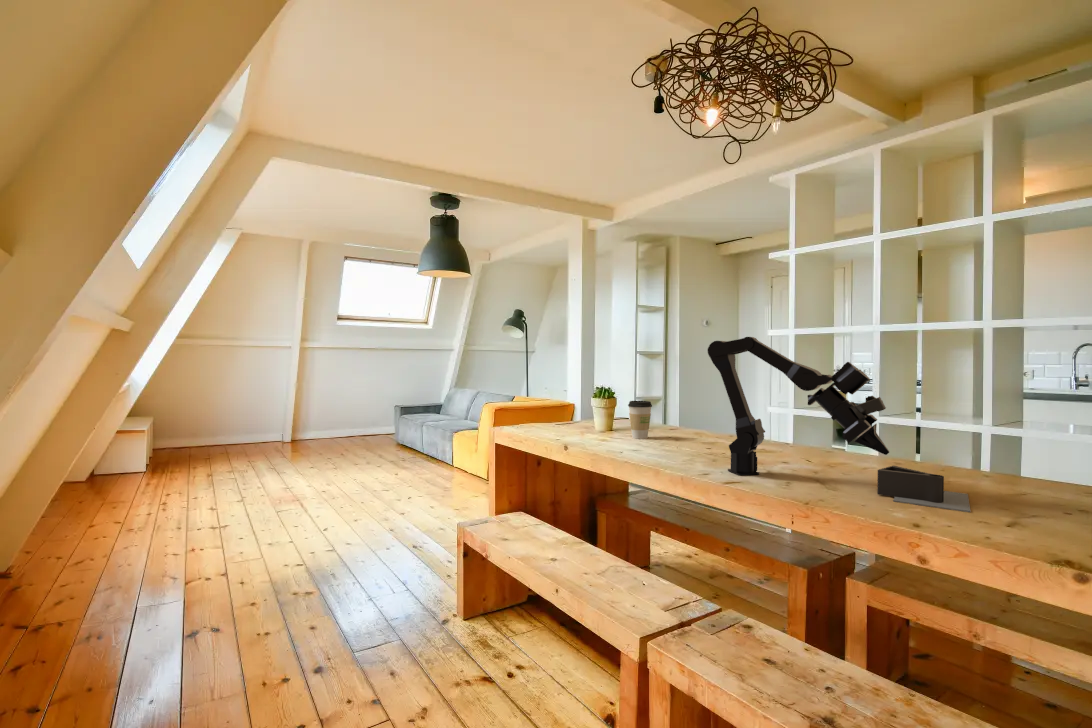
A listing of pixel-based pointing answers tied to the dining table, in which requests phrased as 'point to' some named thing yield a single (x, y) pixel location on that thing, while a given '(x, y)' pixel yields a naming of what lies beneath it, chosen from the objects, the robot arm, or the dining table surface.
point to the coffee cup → (640, 418)
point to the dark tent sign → (910, 484)
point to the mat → (950, 502)
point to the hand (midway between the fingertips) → (887, 453)
